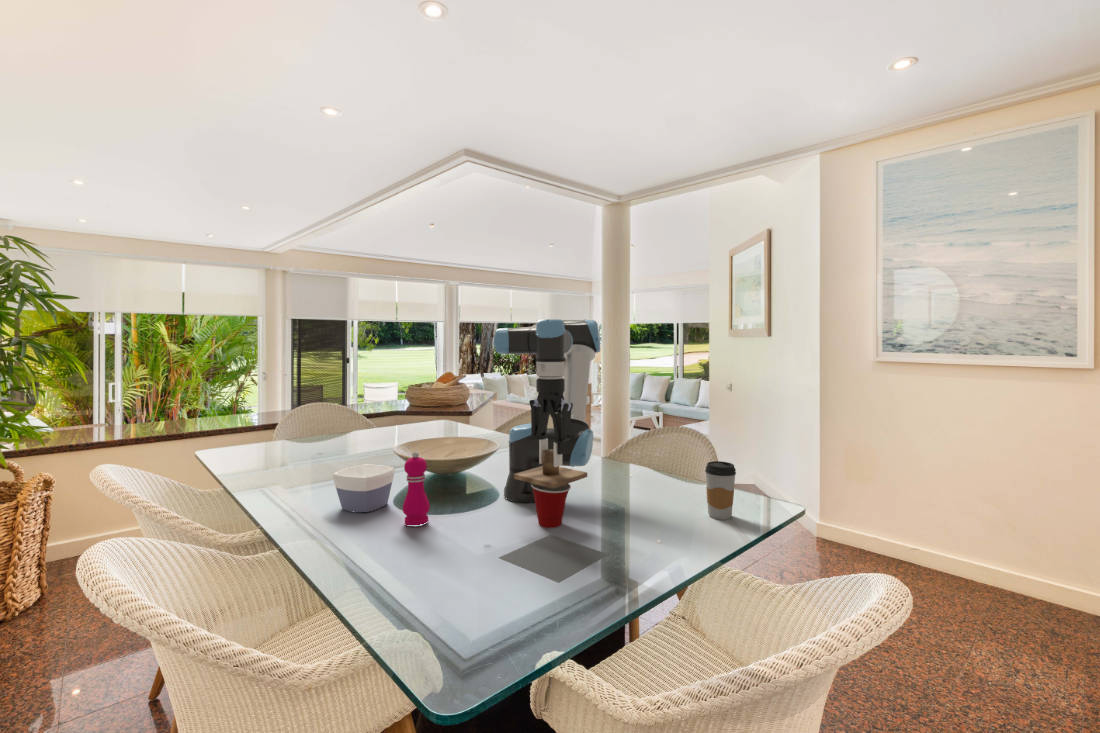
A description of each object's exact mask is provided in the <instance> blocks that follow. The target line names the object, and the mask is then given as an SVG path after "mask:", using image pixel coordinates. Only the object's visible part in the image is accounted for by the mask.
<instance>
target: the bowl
mask: <svg viewBox="0 0 1100 733" xmlns="http://www.w3.org/2000/svg"><path fill="white" fill-rule="evenodd" d="M395 472H396V470H395V468H394V467H392V466H388V465H383V464H382V465H381V464H357V465H354V466H351V467H350V466H349V467H347V468H343V469H341V470H340V469H339V470H338V471H336V472H334V473H333V476H332V479H333V483H334V486H335V489H336V493H337V496H338V499H339V503H340V506H341V509H342V510H344V511H346V510H348V511H347V512H350V511H354V512H353V513H356V512H368V513H370V512H369V511H371V512H374V511H377V510H379V509H378V508H380V509H382V508H383V507H385V506H386V505H387V504H388V502H389V499H390V494H391V489H392V485H393V481H394V478H395ZM384 505H385V506H384ZM382 506H383V507H382ZM381 507H382V508H381ZM376 509H377V510H376ZM373 510H374V511H373Z"/></svg>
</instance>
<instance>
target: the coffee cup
mask: <svg viewBox="0 0 1100 733" xmlns="http://www.w3.org/2000/svg"><path fill="white" fill-rule="evenodd" d="M736 471H737V470H736V467H735V465H734V464H733V463H732V462H727V461H716V460H715V461H709V462H707V463H706V466H705V471H704V472H705V478H706V479H705V480H706V481H705V482H706V485H705V486H706V502H707V514H708V516H709V517H710V518H712V519H715V520H721V521H722V520H723V521H725V520H729V519H731V517H732V515H733V505H734V495H735V480H736V474H737V472H736Z"/></svg>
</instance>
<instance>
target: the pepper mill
mask: <svg viewBox="0 0 1100 733" xmlns="http://www.w3.org/2000/svg"><path fill="white" fill-rule="evenodd" d="M411 455H412V457H410V458H408V459H406V461H405V463H404V466H403V467H404V471H405V473H406V474H407V475H406V477H405V478H406V482H407V484H408V485H407V486H408V487H407V493H406V496H405V499H404V501H403V505H402V512H403V514H404V515H405V517H404V525H405V524H406V525H420V524H424V523H426V522H427V521H428V522H429V515H428V512H429V511H430V508H431V507H430V504H431V503H430V501H429V499H428V495H427V493H426V492H425V485H424V484H425V480H426V474H425V472H426V471H427V469H428V464H427V461H426V460H425V459H424V458H423V457H420V456H419V452H418V451H414V452H412V454H411ZM406 525H405V526H406Z"/></svg>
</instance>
